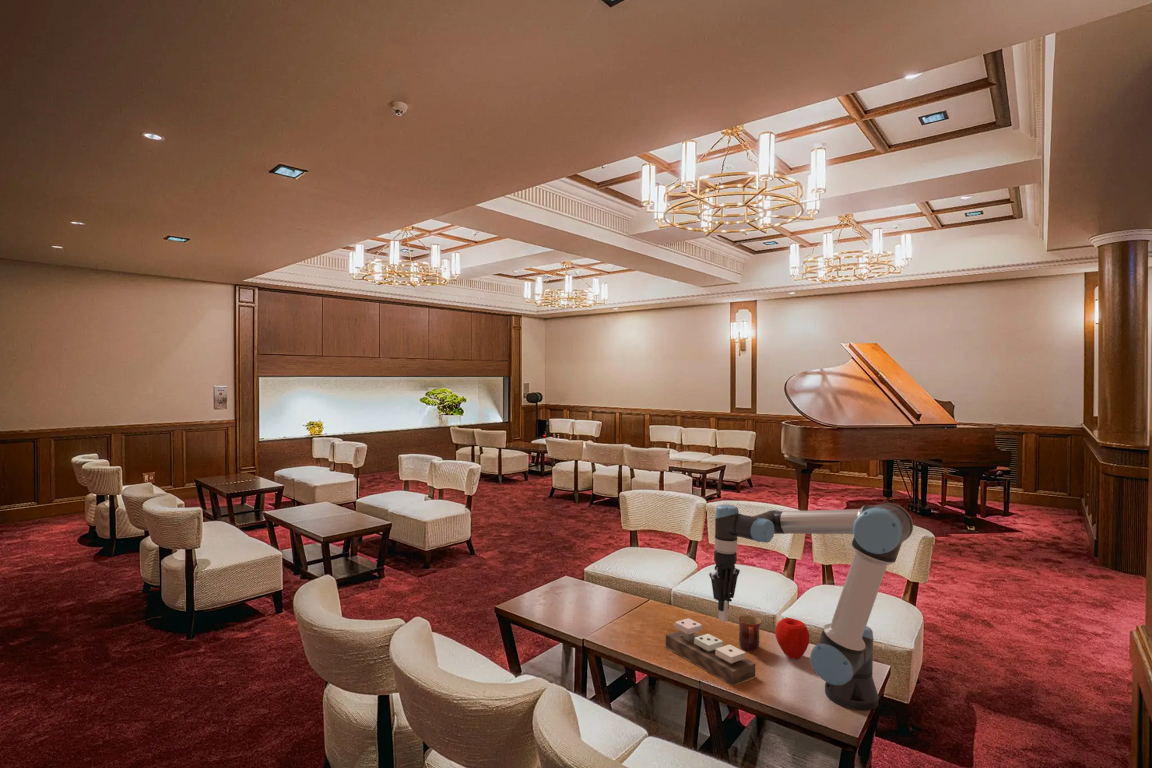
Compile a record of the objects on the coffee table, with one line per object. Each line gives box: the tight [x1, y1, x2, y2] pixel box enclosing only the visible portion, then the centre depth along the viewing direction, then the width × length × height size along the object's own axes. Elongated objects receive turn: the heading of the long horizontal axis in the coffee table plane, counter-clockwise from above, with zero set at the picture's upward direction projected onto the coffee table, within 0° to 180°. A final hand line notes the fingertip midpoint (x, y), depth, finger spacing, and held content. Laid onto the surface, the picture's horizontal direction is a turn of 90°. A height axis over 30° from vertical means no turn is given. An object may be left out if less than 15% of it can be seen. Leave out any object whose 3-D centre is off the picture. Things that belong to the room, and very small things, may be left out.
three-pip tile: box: [694, 633, 724, 652], centre depth 199 cm, size 7×7×7 cm
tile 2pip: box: [674, 617, 703, 641], centre depth 207 cm, size 7×7×7 cm
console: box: [664, 630, 757, 687], centre depth 199 cm, size 33×12×4 cm, turn 33°
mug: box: [737, 614, 763, 652], centre depth 209 cm, size 12×9×10 cm
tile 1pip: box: [715, 643, 747, 664], centre depth 191 cm, size 7×7×7 cm
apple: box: [774, 617, 810, 660], centre depth 204 cm, size 12×12×13 cm
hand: (723, 619), depth 193 cm, fingers closed
